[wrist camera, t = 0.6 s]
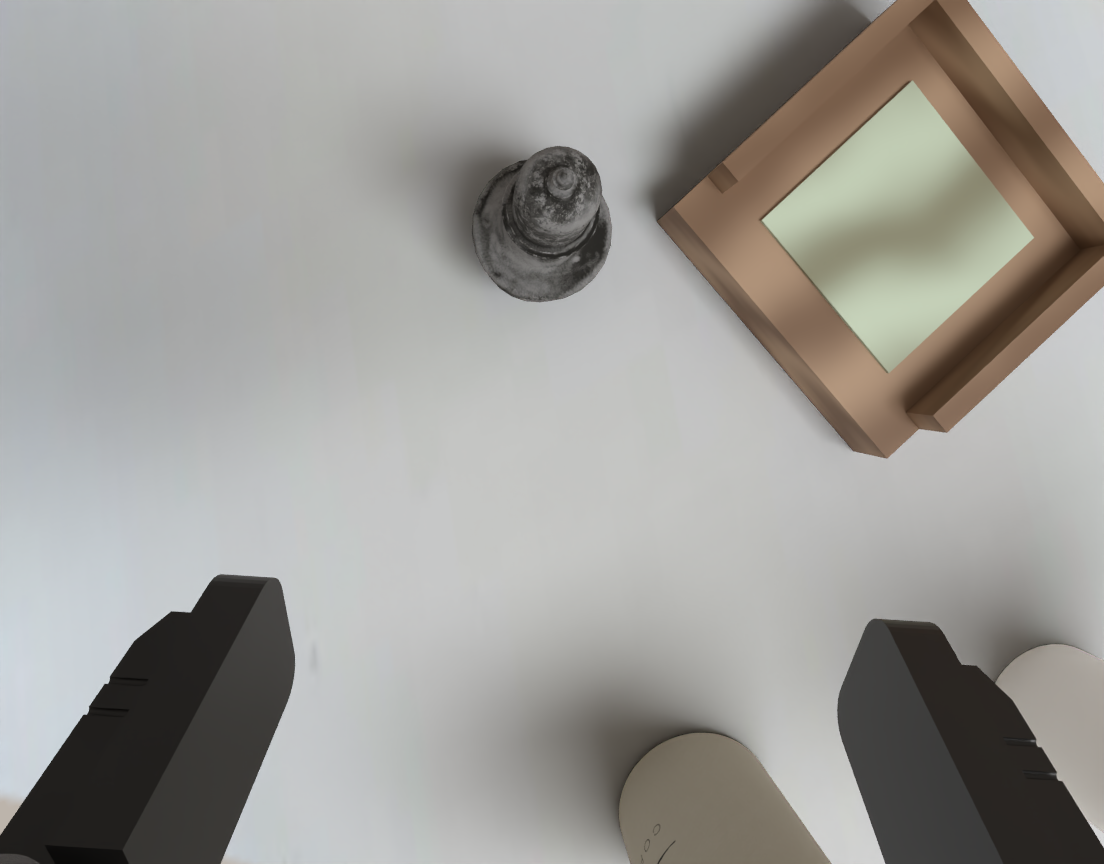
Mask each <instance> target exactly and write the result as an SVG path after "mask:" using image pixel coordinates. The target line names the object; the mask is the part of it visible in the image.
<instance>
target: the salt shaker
mask: <svg viewBox="0 0 1104 864" xmlns="http://www.w3.org/2000/svg"><path fill="white" fill-rule="evenodd" d="M611 233H612V225H611V219H610V214H609V209H608V206H607V204H606V202H605V200H604V198H603V196H602V186H601V181H600V176H599V174H598V172H597V169H596V167H595V165H594V164H593V163H592V162H591V161H590V159H589V158H588V157H587V156H585V155H584V154H582V153H581V152H579V151H577V150H575V149H572V148H569V147H561V146H555V147H550V148H546V149H544V150H541V151H539V152H537V153H535V154H534V155H533V156H532V157H530V158H529V159H528V160H524V161H519V162H517V163H515V164H513V165H511V166H509V167H507V168H505V169H503V170H502V171H501V172H499V173H498V174H497V175H496V176H495V177H494V178H493V179H491V180H490V181H489V183H488V184H487V186H486V187H485V189H484V190H483V192H482V193H481V195H480V196H479V198H478V202H477V205H476V208H475V211H474V214H473V226H472V236H473V241H474V246H475V251H476V254H477V256H478V258H479V260H480V262H481V264H482V266H483V268H484V270H485V271H486V272H487V273H488V274H489V276H490V277H491V279H492V280H493V281H494V282H495V283H496V284H497V285H498V287H499V288H501V289H502V290H503V291H505V292H506V293H508V294H509V295H511V296H513V297H516V298H518V299H521V300H524V301H531V302H544V301H552V300H558V299H563V298H566V297H568V296H570V295H572V294H574V293H576V292H578V291H580V290H582V289H583V288H584V287H585V286H586V285H587V284H588V283H590V282H591V281H592V280H593V279H594V278H595V277H596V275H597V274H598V272H599V271H600V269H601V268H602V266H603V265H604V263H605V260H606V258H607V255H608V252H609V249H610V246H611Z"/></svg>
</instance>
